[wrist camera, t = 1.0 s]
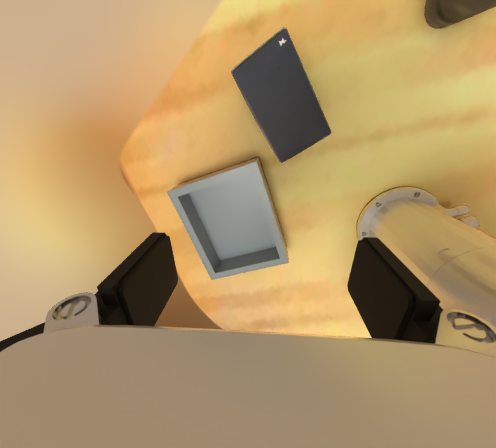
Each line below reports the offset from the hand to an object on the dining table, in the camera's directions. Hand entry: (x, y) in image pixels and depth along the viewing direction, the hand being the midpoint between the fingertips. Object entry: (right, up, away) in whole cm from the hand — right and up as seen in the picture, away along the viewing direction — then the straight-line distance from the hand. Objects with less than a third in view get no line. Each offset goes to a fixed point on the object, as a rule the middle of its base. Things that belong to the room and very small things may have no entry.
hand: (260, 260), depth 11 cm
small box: (+4, +18, +20) cm, 28 cm away
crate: (-3, +3, +28) cm, 28 cm away
